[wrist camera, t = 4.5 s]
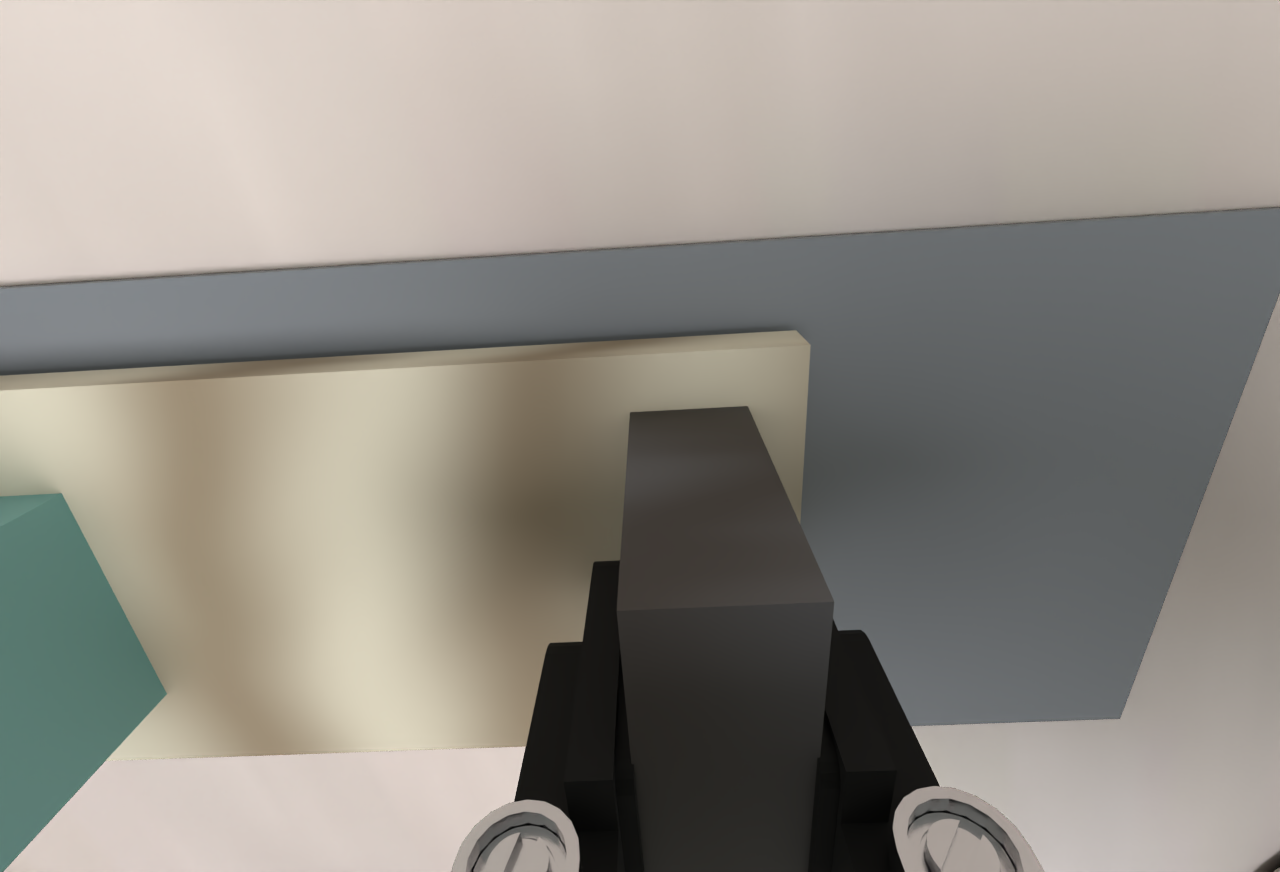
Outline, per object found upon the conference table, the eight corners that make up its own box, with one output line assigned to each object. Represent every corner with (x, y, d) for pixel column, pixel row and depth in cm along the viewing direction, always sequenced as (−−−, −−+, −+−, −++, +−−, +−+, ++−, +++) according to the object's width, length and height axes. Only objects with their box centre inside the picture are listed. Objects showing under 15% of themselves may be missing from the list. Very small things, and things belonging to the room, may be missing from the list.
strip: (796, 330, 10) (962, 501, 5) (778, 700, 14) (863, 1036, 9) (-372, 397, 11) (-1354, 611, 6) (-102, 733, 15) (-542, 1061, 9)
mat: (1293, 206, 10) (1311, 206, 10) (1111, 708, 15) (1120, 718, 15) (-489, 317, 11) (-516, 321, 11) (-122, 752, 16) (-135, 762, 16)
